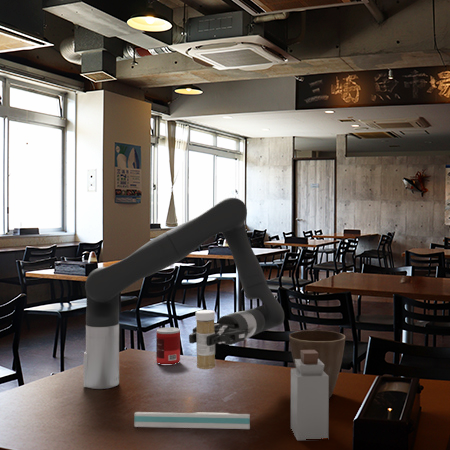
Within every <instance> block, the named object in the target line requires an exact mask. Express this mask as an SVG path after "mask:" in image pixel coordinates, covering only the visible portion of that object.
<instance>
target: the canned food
mask: <svg viewBox="0 0 450 450" xmlns="http://www.w3.org/2000/svg"><path fill="white" fill-rule="evenodd" d="M155 336H156V337H155V338H156V339H155V340H156V341H155V343H156V348H155V350H156V351H155V352H156V355H155V356H156V360H155V361H156V364H157V363H160V364H175V363H178V362H179V361H181V329H180V328H178V327H172V326H171V327H169V326H168V327H160V328H157V329H156V333H155ZM179 363H180V362H179ZM179 363H178V364H179Z"/></svg>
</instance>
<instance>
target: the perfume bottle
mask: <svg viewBox="0 0 450 450" xmlns="http://www.w3.org/2000/svg"><path fill="white" fill-rule="evenodd" d="M300 352H301V359H295V364H296V368H295V367H294V368H290V430H291V429H292V430H291V431H293V432H292V433H294V434H293V435H294V437H295V439H296V440H297V441H307V440H306V439H321V438H322V439H323V438H328V439H329V404H330V403H329V401H330V400H329V399H330V397H329V376H328V375H327V374H326V373H325V372H324V371H323V369H324V364H323V363H322V362H321V361H320V360H319V359H318V352H317V351H315V350H300Z"/></svg>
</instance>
